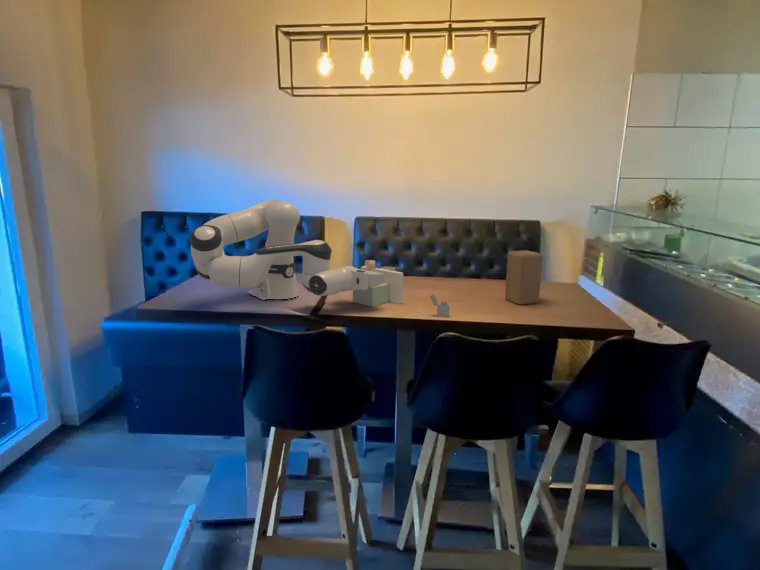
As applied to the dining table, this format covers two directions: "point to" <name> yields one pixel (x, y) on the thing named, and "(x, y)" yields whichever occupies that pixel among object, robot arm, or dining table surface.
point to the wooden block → (523, 277)
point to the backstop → (393, 284)
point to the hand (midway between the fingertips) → (372, 272)
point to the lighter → (440, 306)
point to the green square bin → (372, 295)
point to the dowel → (370, 265)
